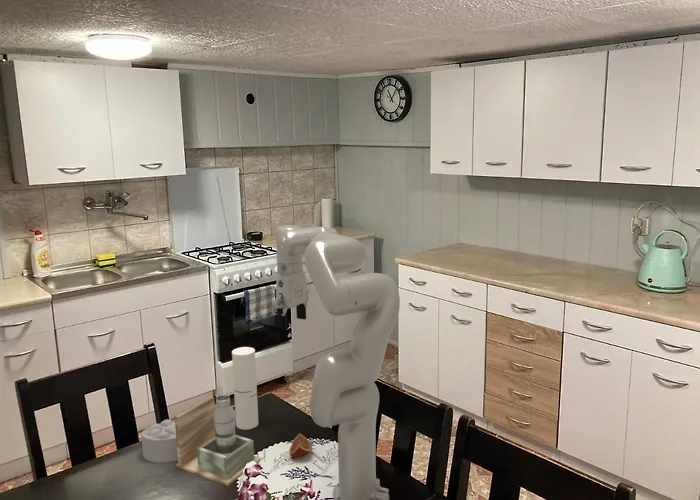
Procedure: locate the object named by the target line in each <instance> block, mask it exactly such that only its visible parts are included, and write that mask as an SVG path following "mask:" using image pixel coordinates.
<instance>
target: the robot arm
mask: <svg viewBox="0 0 700 500" xmlns="http://www.w3.org/2000/svg"><path fill="white" fill-rule="evenodd" d="M275 242H276V243H275V244H276V245H275V247H276V269H277V270H276V271H277V272H276V273H277V274H276V281H275V282H276V283H275V298H274V300H273V301H272V302H271V307H272V308H273V312H274V313H275V315H276V324H277V326H276V327H277V328H278V329H279V328H280V329H284V330H286V329H288V315H286V314H287V311H288V309H293V308H295V309H296V310H295V311H296V318H297V319H299V320H306V319H307V306H308V300H309V294H310V290H309V289H308V288H307V287H308V285H307V279H306V274H305V270H304V266H303V265H304V264H303V263H305V267H306V270H307V272H308V275H309V278H310V280H311V282H312V285H313V286H314V288H315V290H316V293H317V295H318V297H319V299H320V302H321V304H322V305H323V307H324V309H325V311H326V312H327V313H328V314H329V315H332V316H335V317H340V316H341V317H342V316H347V315H352V314H358V313H363V312H366V313H365V314H364V315H363V317H362V318H361V319H360V320H359V321H358V323H356V325H355V327H354V329H353V331H352V333H351V340H350V343H349V345H348V346H347V347H345V348H342V349H339V350H334V351H329V352H327V353H324V354H322V356H320V358H319V359H318V361H317V362H316V366H315V370H314V374H313V380H312V384H311V390H310V395H309V396H310V397H309V412H310V415H311V419H312V420H313V422H314V423H315V424H316V425H317V426H319V427H322V428H329V427H335V426H338V431H337V432H338V433H337V459H338V460H337V461H338V463H337V464H338V465H337V466H338V482H337V483H336V485H335V487H333V490H332V498H333V500H390V494H389V491H390V490H389V488H386V487H382V486H381V485H380V484H381V482H380V478H377V474H376V471H377V469H376V468H377V465H376V463H377V461H376V457H377V455H376V449H377V447H376V442H377V441H376V438H377V437H376V430H377V429H376V426H377V425H376V424H377V416H378V411H379V406H380V405H379V404H380V392H379V389H378V386H377V384H376V383H375V382H376V381H377V380H378V379H379V376H380V374H381V372H382V371H381V370H382V367H383V362H384V360H385V355H386V352H387V348H388V344H389V339H390V338H391V335H392V332H393V330H394V328H395V326H396V323H397V320H398V317H399V314H400V308H401V307H400V306H401V305H400V303H401V298H400V292H399V287H398V286H397V284H396V281H395V279H394V278H392V276H390V275H388V274H385V273H380V272H369V273H361V274H356V275H355V274H354V275H349V276H343V277H337V276H336V274H342V273H348V272H352V271H355V270H357V269H359V268H360V267H361V266H362V265H363V264H364V262H365V260H366V249H365V247H364V245H363V243H361V242H360V241H359V240H358V239H356V238H353V237H352V236H346V235H343V234H339V233H338V232H337V230H336V229H335V228H332V227H327V226H310V227H308V226H307V227H300V226H298V225H294V224H287V225H279V226H278V227H277V228H276V230H275ZM303 256H304V262H303Z"/></svg>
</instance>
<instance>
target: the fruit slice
mask: <svg viewBox="0 0 700 500" xmlns="http://www.w3.org/2000/svg"><path fill="white" fill-rule="evenodd" d="M288 451H289V452H288V454H289V455H290V456H291V457H292V458H296V459H300V458H303V457H307V456H308V455H309V454H311V452H312V451H313V446H312V443H311V441H310V440H309V439H308V438H307V437H305V435H303V434H302V433H300V432H299V433H298V434H297V435H296V436H295V437H294V438H293V440H292V443H291V445H290V448H289V450H288Z"/></svg>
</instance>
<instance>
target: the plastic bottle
mask: <svg viewBox="0 0 700 500" xmlns="http://www.w3.org/2000/svg"><path fill="white" fill-rule="evenodd" d="M212 421H213V425H214V429H215V437H216V450H215V452H216V453H218V454H221V455H224V456H228V455H229V454H231V453H232V452H233V451H235V450H236V449H238V448H237V444H236V438H235V435H236V413H235V408H233V406H231V397H230V395H227V394H222V395H217V396H216V397H215V410H214V412H213V414H212Z"/></svg>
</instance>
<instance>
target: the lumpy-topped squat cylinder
mask: <svg viewBox="0 0 700 500" xmlns="http://www.w3.org/2000/svg"><path fill="white" fill-rule="evenodd" d="M140 436H141V446H142V456H143V459H144V460H146V461H148V462H152V463H161V464H163V463H169V462H170V463H171V462H178V454H177V441H176V429H175V421H173V420H171V419H168V418H167V419H164V420H163V421H161V422H160V423H154V424H152V425H151V426H149V427H148V428H145V429H144V430H143V431H142V432H141V434H140Z"/></svg>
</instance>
